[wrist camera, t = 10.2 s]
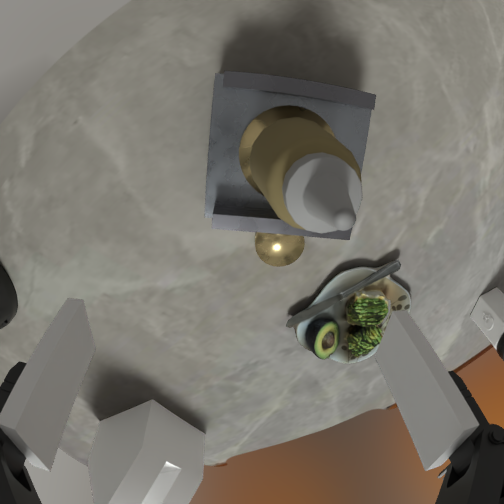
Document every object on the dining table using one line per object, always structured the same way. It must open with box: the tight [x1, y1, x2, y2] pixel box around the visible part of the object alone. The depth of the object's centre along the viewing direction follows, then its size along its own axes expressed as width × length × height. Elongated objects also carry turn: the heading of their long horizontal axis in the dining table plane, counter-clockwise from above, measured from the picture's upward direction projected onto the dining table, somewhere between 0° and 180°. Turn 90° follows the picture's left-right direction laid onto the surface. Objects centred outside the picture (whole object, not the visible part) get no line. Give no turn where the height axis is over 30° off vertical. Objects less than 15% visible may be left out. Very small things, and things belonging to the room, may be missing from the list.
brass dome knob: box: [255, 232, 304, 266], centre depth 40 cm, size 6×6×2 cm
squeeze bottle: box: [249, 117, 362, 233], centre depth 23 cm, size 8×8×18 cm
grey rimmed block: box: [205, 71, 376, 240], centre depth 32 cm, size 16×15×8 cm
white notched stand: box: [88, 399, 206, 504], centre depth 48 cm, size 19×15×25 cm
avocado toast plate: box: [286, 260, 411, 364], centre depth 44 cm, size 19×18×5 cm
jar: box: [470, 287, 504, 361], centre depth 43 cm, size 9×8×12 cm
